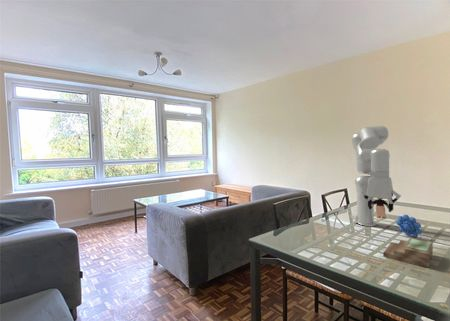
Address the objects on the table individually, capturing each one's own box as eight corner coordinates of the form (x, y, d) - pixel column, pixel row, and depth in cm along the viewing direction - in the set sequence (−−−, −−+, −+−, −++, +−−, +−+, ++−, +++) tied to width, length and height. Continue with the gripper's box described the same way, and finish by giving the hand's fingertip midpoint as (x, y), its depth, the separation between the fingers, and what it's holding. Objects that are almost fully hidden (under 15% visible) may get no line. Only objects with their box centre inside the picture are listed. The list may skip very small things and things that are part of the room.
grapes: (393, 235, 135) (393, 214, 135) (398, 232, 139) (397, 212, 139) (419, 241, 126) (419, 218, 125) (423, 237, 130) (423, 216, 130)
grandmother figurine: (388, 217, 118) (388, 192, 117) (390, 219, 114) (389, 193, 114) (370, 216, 121) (370, 191, 120) (371, 218, 118) (370, 192, 117)
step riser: (383, 256, 111) (383, 243, 110) (391, 245, 122) (391, 233, 121) (428, 267, 99) (428, 253, 99) (432, 254, 110) (432, 241, 110)
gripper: (357, 174, 120) (358, 208, 121) (399, 176, 107) (400, 214, 108) (362, 173, 125) (363, 205, 126) (403, 174, 113) (403, 211, 113)
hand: (380, 209), depth 117 cm, fingers closed on grandmother figurine, 7 cm apart
